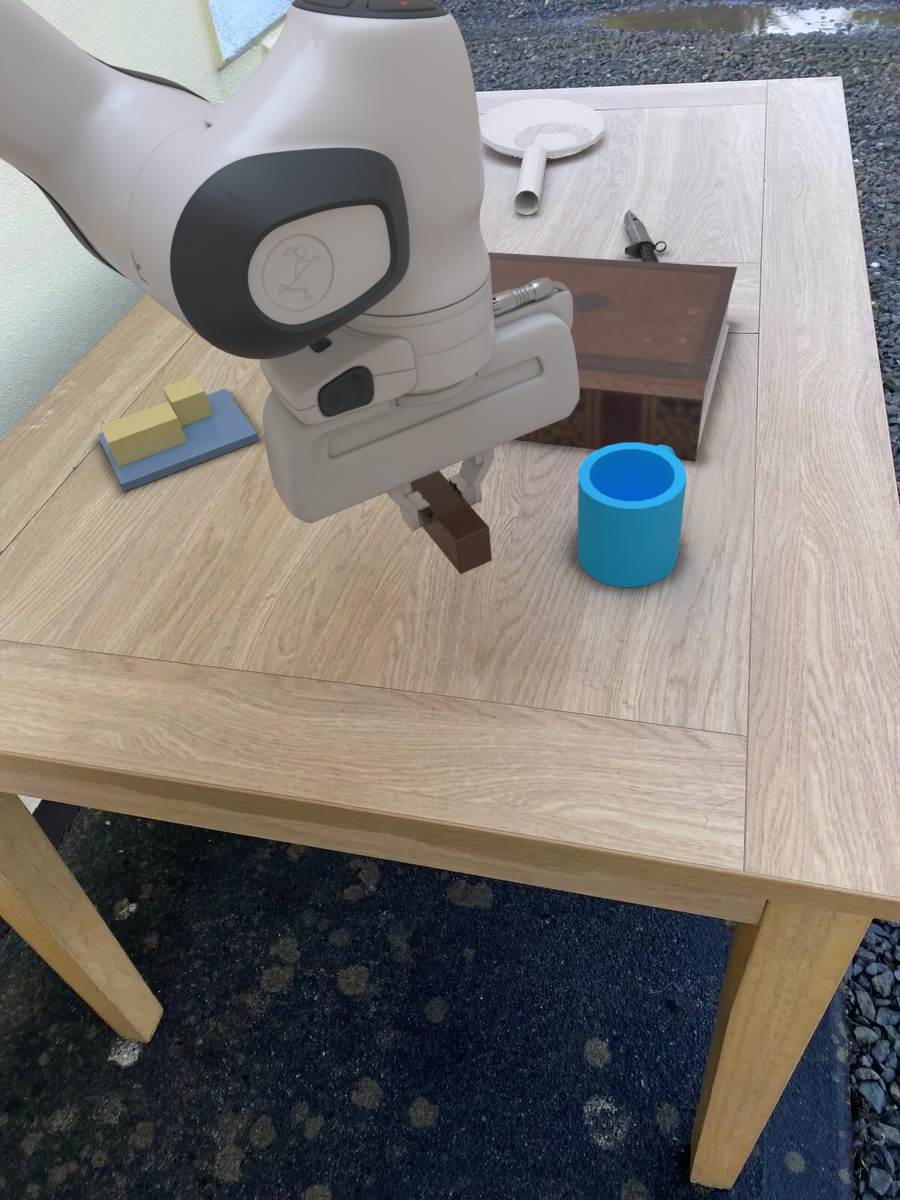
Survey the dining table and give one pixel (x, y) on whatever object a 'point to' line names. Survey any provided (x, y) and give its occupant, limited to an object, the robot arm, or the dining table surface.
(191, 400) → the butter pat
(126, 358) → the dining table surface
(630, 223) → the knife
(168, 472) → the butter dish
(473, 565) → the butter knife
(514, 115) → the frying pan
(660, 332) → the book
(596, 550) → the mug
